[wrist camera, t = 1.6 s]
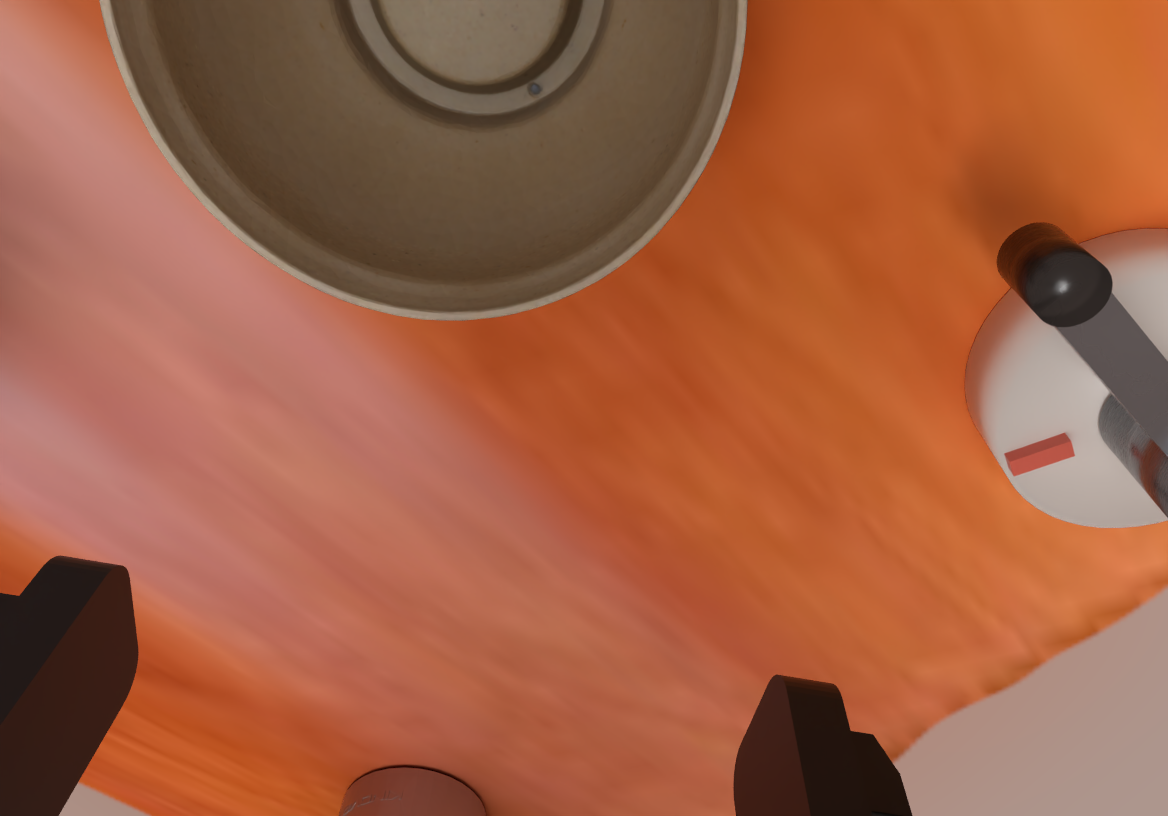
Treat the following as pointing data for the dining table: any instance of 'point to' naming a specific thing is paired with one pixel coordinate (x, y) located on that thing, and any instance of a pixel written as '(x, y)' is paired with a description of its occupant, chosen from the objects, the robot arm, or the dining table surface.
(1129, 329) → the capstan lever
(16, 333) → the dining table surface
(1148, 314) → the stand
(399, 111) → the planter bowl
